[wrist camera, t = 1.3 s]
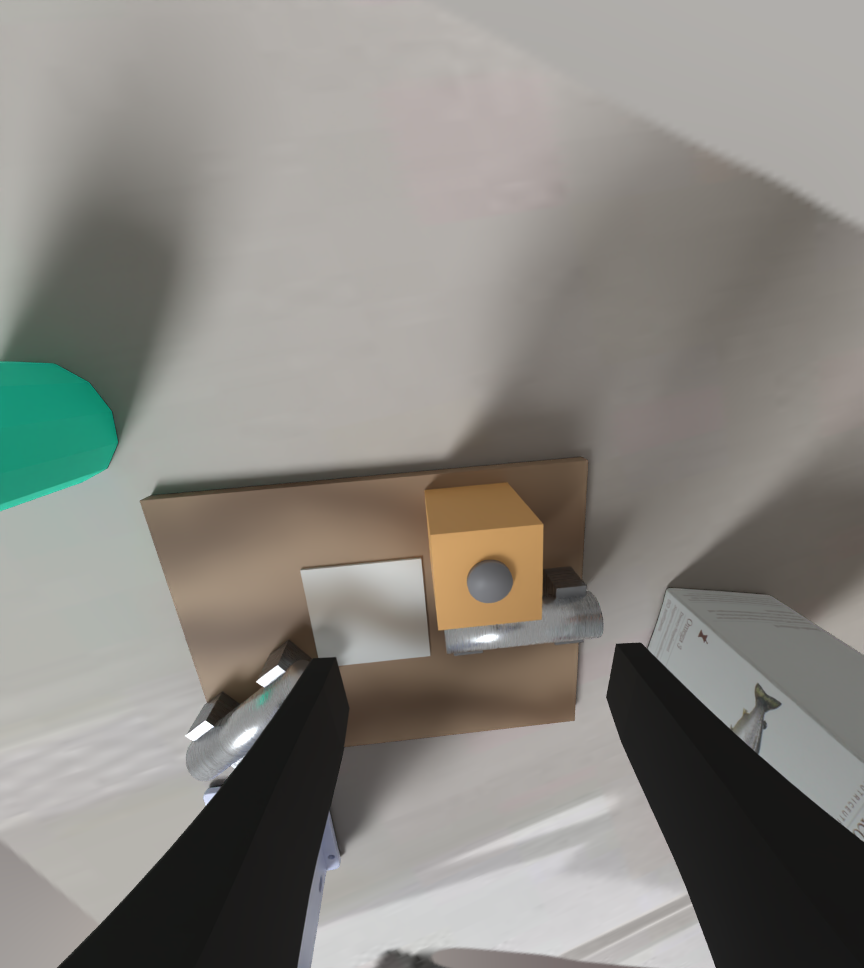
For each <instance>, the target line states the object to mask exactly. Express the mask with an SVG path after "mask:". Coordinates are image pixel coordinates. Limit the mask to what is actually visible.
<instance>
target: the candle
mask: <svg viewBox="0 0 864 968" xmlns="http://www.w3.org/2000/svg"><path fill="white" fill-rule="evenodd" d="M117 445H118V439H117V434H116V429H115V424H114V419H113V414H112V411H111V410H110V408H109V407H108V406H107V404H106V403H105V402H104V401H103V399H102V398H101V397H100V396H99V394H98V393H97V392H96V390H95V389H94V388H93V387H92V385H91V384H90V383H89V382H88V381H86V380H84V379H82V378H80V377H79V376H77V375H75V374H73V373H71V372H69V371H68V370H66V369H64V368H62V367H60V366H58V365H57V364H55V363H35V362H7V361H0V511H2V510H5V509H8V508H11V507H14V506H16V505H19V504H22V503H25V502H28V501H31V500H33V499H36V498H39V497H42V496H45V495H48V494H50V493H53V492H56V491H59V490H62V489H65V488H67V487H70V486H73V485H76V484H79V483H82V482H84V481H86V480H87V479H89V478H91V477H93V476H95V475H96V474H98V473H100V472H102V471H104V470H105V469H107V468H108V466H109V463H110V461H111V459H112V456H113V454H114V452H115V449H116V447H117Z"/></svg>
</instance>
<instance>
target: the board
mask: <svg viewBox="0 0 864 968" xmlns="http://www.w3.org/2000/svg"><path fill="white" fill-rule="evenodd" d="M587 474H588V460H586V459H584V458H583V457H575V458H564V459H553V460H542V461H530V462H519V463H508V464H497V465H486V466H475V467H464V468H452V469H441V470H430V471H419V472H408V473H397V474H385V475H374V476H363V477H352V478H341V479H330V480H319V481H307V482H296V483H285V484H274V485H263V486H252V487H240V488H229V489H218V490H207V491H196V492H185V493H174V494H162V495H151V496H148V497H146V498H144V499H142V500H140V503H141V506H142V509H143V512H144V515H145V518H146V521H147V524H148V527H149V530H150V533H151V536H152V539H153V542H154V545H155V548H156V551H157V554H158V557H159V560H160V563H161V566H162V569H163V572H164V575H165V578H166V581H167V584H168V587H169V590H170V593H171V596H172V599H173V602H174V605H175V608H176V611H177V614H178V617H179V620H180V623H181V626H182V629H183V632H184V635H185V638H186V641H187V644H188V647H189V650H190V653H191V656H192V659H193V662H194V665H195V668H196V671H197V674H198V677H199V680H200V683H201V686H202V689H203V692H204V695H205V698H206V701H207V703H208V702H209V701H210V700H211V699H213V698H214V697H215V696H217V695H218V694H219V693H220V692H222V691H223V692H225V693H226V694H227V695H229V696H230V697H231V698H233V699H234V700H235V701H237V702H238V703H240V704H241V703H242V702H244V701H245V700H246V699H248V698H249V697H250V696H252V695H253V694H254V693H256V692H257V691H258V690H259V689H261V688H262V687H263V686H261V685H260V684H259V683H258V682H256V681H257V679H258V677H259V675H260V673H261V671H262V669H263V667H264V665H265V662H266V660H267V658H268V656H269V654H270V653H272V652H273V651H274V650H276V649H277V648H278V647H279V646H281V645H282V644H283V643H285V642H286V641H287V640H288V639H289V640H291V641H292V642H293V643H294V644H295V645H297V646H298V647H299V648H300V649H301V650H303V651H304V652H305V653H306V654H307V655H309V656H310V657H311V658H312V659H313V658H326V657H336V658H337V662H338V666H339V670H340V674H341V677H342V681H343V685H344V689H345V692H346V696H347V700H348V704H349V716H348V723H347V731H346V738H345V744H344V747H350V746H359V745H367V744H376V743H385V742H393V741H402V740H411V739H419V738H428V737H437V736H445V735H454V734H463V733H471V732H480V731H489V730H498V729H506V728H515V727H524V726H532V725H541V724H550V723H558V722H567V721H575V703H576V683H577V664H578V645H579V643H570V644H561V645H555V644H554V643H545V644H536V645H526V646H517V647H508V648H499V649H489V650H483V653H477V654H468V655H459V656H454V653H452V654H447V652H446V644H445V636H444V630H439V631H438V623H437V614H436V606H435V597H434V588H433V580H432V571H431V561H430V550H429V538H428V527H427V515H426V504H425V492H424V490H429V489H440V488H451V487H462V486H473V485H484V484H495V483H506V482H508V484H509V485H510V486H511V487H512V488H513V489H514V491H515V492H516V493H517V494H518V495H519V496H520V498H521V499H522V500H523V501H524V502H525V503H526V504H527V506H528V507H529V508H530V509H531V510H532V511H533V513H534V514H535V515H536V516H537V517H538V518H539V520H540V521H541V522H542V523H543V569H547V568H557V567H567V566H571V567H572V568H573V569H574V571H575V572H576V573H577V574H578V576H579V577H580V578H581V579H582V569H583V550H584V531H585V512H586V493H587ZM542 595H543V583H542Z"/></svg>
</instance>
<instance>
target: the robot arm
mask: <svg viewBox="0 0 864 968" xmlns="http://www.w3.org/2000/svg"><path fill="white" fill-rule="evenodd" d="M606 698H607V701H608V704H609V707H610V710H611V713H612V716H613V719H614V722H615V725H616V728H617V731H618V734H619V737H620V740H621V742H622V745H623V747H624V749H625V752H626V754H627V756H628V758H629V760H630V763H631V765H632V767H633V769H634V772H635V774H636V776H637V778H638V780H639V783H640V785H641V787H642V789H643V791H644V794H645V796H646V798H647V800H648V802H649V805H650V807H651V809H652V811H653V813H654V816H655V818H656V820H657V822H658V824H659V826H660V829H661V831H662V833H663V835H664V837H665V840H666V842H667V844H668V846H669V848H670V851H671V853H672V855H673V857H674V860H675V862H676V864H677V867H678V869H679V871H680V874H681V876H682V879H683V881H684V883H685V886H686V888H687V891H688V894H689V896H690V899H691V902H692V904H693V907H694V910H695V912H696V915H697V918H698V920H699V923H700V926H701V928H702V931H703V934H704V937H705V939H706V942H707V945H708V947H709V950H710V953H711V955H712V958H713V961H714V964H715V967H716V968H864V842H863V841H862V840H861V839H860V838H858V837H857V836H856V835H855V834H853V833H852V832H851V831H850V830H848V829H847V828H846V827H845V826H843V825H842V824H841V823H839V822H838V821H837V820H836V819H834V818H833V817H832V816H831V815H829V814H828V813H827V812H826V811H824V810H823V809H822V808H821V807H820V806H818V805H817V804H816V803H815V802H813V801H812V800H811V799H810V798H809V797H807V796H806V795H805V794H804V793H803V792H801V791H800V790H799V789H798V788H797V787H796V786H794V785H793V784H792V783H791V782H790V781H788V780H787V779H786V778H785V777H784V776H783V775H781V774H780V773H779V772H778V771H777V770H776V769H775V768H773V767H772V766H771V765H770V764H769V763H768V762H767V761H765V760H764V759H763V758H762V757H761V756H760V755H758V754H757V753H756V752H755V751H754V750H753V749H752V748H751V747H750V746H748V745H747V744H746V743H745V742H744V741H743V740H742V739H741V738H740V737H738V736H737V735H736V734H735V733H734V732H733V731H732V730H731V729H730V728H729V727H728V726H727V725H726V724H724V723H723V722H722V721H721V720H720V719H719V718H718V717H717V716H716V715H715V714H714V713H713V712H712V711H710V710H709V709H708V708H707V707H706V706H705V705H704V704H703V703H702V702H701V701H700V700H699V699H698V698H697V697H696V696H695V695H694V694H693V693H692V692H691V691H690V690H689V689H688V688H687V687H686V686H684V685H683V684H682V683H681V682H680V681H679V680H678V679H677V678H676V677H675V676H674V675H673V674H672V673H671V672H670V671H669V670H668V669H667V668H666V667H665V666H664V665H663V664H662V663H661V662H660V661H659V660H658V659H657V658H656V657H655V656H654V655H653V654H652V653H651V652H650V651H649V650H648V649H647V648H646V647H645V646H644V645H643V644H642V643H623V644H616V647H615V653H614V658H613V663H612V669H611V674H610V680H609V685H608V690H607V696H606ZM348 716H349V704H348V700H347V696H346V692H345V689H344V685H343V681H342V677H341V674H340V670H339V666H338V662H337V658H336V657H326V658H313V659H312V660H311V661H310V662H309V664H308V665H307V667H306V668H305V670H304V671H303V673H302V674H301V676H300V678H299V679H298V681H297V682H296V684H295V685H294V687H293V688H292V690H291V691H290V693H289V694H288V696H287V697H286V699H285V700H284V702H283V703H282V704H281V706H280V707H279V709H278V710H277V712H276V713H275V715H274V716H273V718H272V719H271V720H270V722H269V723H268V725H267V726H266V727H265V729H264V730H263V732H262V733H261V734H260V736H259V737H258V739H257V740H256V741H255V743H254V744H253V746H252V747H251V748H250V750H249V751H248V752H247V754H246V755H245V756H244V758H243V759H242V760H241V761H240V763H239V764H238V765H237V767H236V768H235V769H234V771H233V772H232V773H231V774H230V776H229V777H228V778H227V780H226V781H225V782H224V784H223V785H222V786H221V787H213V788H209V789H207V790H206V792H205V794H204V796H203V799H204V802H205V805H206V806H205V807H204V809H203V810H202V811H201V812H200V814H199V815H198V816H197V817H196V818H195V820H194V821H193V822H192V823H191V824H190V826H189V827H188V828H187V829H186V830H185V831H184V833H183V834H182V835H181V836H180V837H179V838H178V840H177V841H176V842H175V843H174V844H173V845H172V847H171V848H170V849H169V850H168V851H167V852H166V853H165V855H164V856H163V857H162V858H161V859H160V860H159V861H158V862H157V863H156V864H155V866H154V867H153V868H152V869H151V870H150V871H149V872H148V873H147V874H146V875H145V877H144V878H143V879H142V880H141V881H140V882H139V883H138V884H137V885H136V887H135V888H134V889H133V890H132V891H131V892H130V893H129V894H128V895H127V896H126V897H125V899H124V900H123V901H122V902H121V903H120V904H119V905H118V906H117V907H116V908H115V909H114V910H113V911H112V912H111V913H110V914H109V916H108V917H107V918H106V919H105V920H104V921H103V922H102V923H101V924H100V925H99V926H98V927H97V928H96V929H95V930H94V931H93V932H92V933H91V934H90V935H89V936H88V937H87V938H86V939H85V940H84V941H83V942H82V943H81V944H80V945H79V946H78V947H77V948H76V949H75V950H74V951H73V952H72V954H71V955H69V956H68V958H66V959H65V960H64V961H63V963H61V964H60V965H59V966H58V967H57V968H311V963H312V957H313V951H314V944H315V938H316V932H317V926H318V920H319V913H320V907H321V901H322V895H323V889H324V883H325V876H326V870H334V869H337V868H338V867H339V866H340V861H341V858H340V854H339V850H338V845H337V841H336V837H335V832H334V828H333V824H332V819H331V815H330V811H329V810H330V806H331V802H332V798H333V794H334V789H335V785H336V781H337V777H338V773H339V769H340V764H341V760H342V756H343V751H344V744H345V738H346V731H347V723H348Z"/></svg>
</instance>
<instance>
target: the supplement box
mask: <svg viewBox="0 0 864 968" xmlns="http://www.w3.org/2000/svg"><path fill="white" fill-rule="evenodd" d="M648 650H649V651H650V652H651V653H652V654H653V655H654V656H655V657H656V658H657V659H658V660H659V661H660V662H661V663H662V664H663V665H664V666H665V667H666V668H667V669H668V670H669V671H670V672H671V673H672V674H673V675H674V676H675V677H676V678H677V679H678V680H679V681H680V682H681V683H682V684H683V685H684V686H686V687H687V688H688V689H689V690H690V691H691V692H692V693H693V694H694V695H695V696H696V697H697V698H698V699H699V700H700V701H701V702H702V703H703V704H704V705H705V706H706V707H707V708H708V709H709V710H710V711H712V712H713V713H714V714H715V715H716V716H717V717H718V718H719V719H720V720H721V721H722V722H723V723H724V724H726V725H727V726H728V727H729V728H730V729H731V730H732V731H733V732H734V733H735V734H736V735H737V736H738V737H740V738H741V739H742V740H743V741H744V742H745V743H746V744H747V745H748V746H750V747H751V748H752V749H753V750H754V751H755V752H756V753H757V754H758V755H760V756H761V757H762V758H763V759H764V760H765V761H767V762H768V763H769V764H770V765H771V766H772V767H773V768H775V769H776V770H777V771H778V772H779V773H780V774H781V775H783V776H784V777H785V778H786V779H787V780H788V781H790V782H791V783H792V784H793V785H794V786H796V787H797V788H798V789H799V790H800V791H801V792H803V793H804V794H805V795H806V796H807V797H809V798H810V799H811V800H812V801H813V802H815V803H816V804H817V805H818V806H820V807H821V808H822V809H823V810H824V811H826V812H827V813H828V814H829V815H831V816H832V817H833V818H834V819H836V820H837V821H838V822H839V823H841V824H842V825H843V826H845V827H846V828H847V829H848V830H850V831H851V832H852V833H853V834H855V835H856V836H857V837H858V838H860V839H861V840H862V841H863V842H864V655H863V654H861V653H860V652H858V651H857V650H855V649H854V648H852V647H850V646H849V645H847V644H846V643H844V642H843V641H841V640H839V639H838V638H836V637H835V636H833V635H832V634H830V633H829V632H827V631H826V630H824V629H822V628H821V627H819V626H817V625H816V624H814V623H813V622H811V621H810V620H808V619H807V618H805V617H803V616H802V615H800V614H799V613H797V612H796V611H794V610H793V609H791V608H789V607H788V606H786V605H785V604H783V603H782V602H780V601H778V600H777V599H775V598H774V597H772V596H771V595H764V594H752V593H737V592H724V591H712V590H697V589H683V588H668V589H667V591H666V594H665V598H664V602H663V605H662V608H661V612H660V615H659V618H658V621H657V624H656V627H655V630H654V633H653V635H652V638H651V641H650V644H649V647H648Z"/></svg>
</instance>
